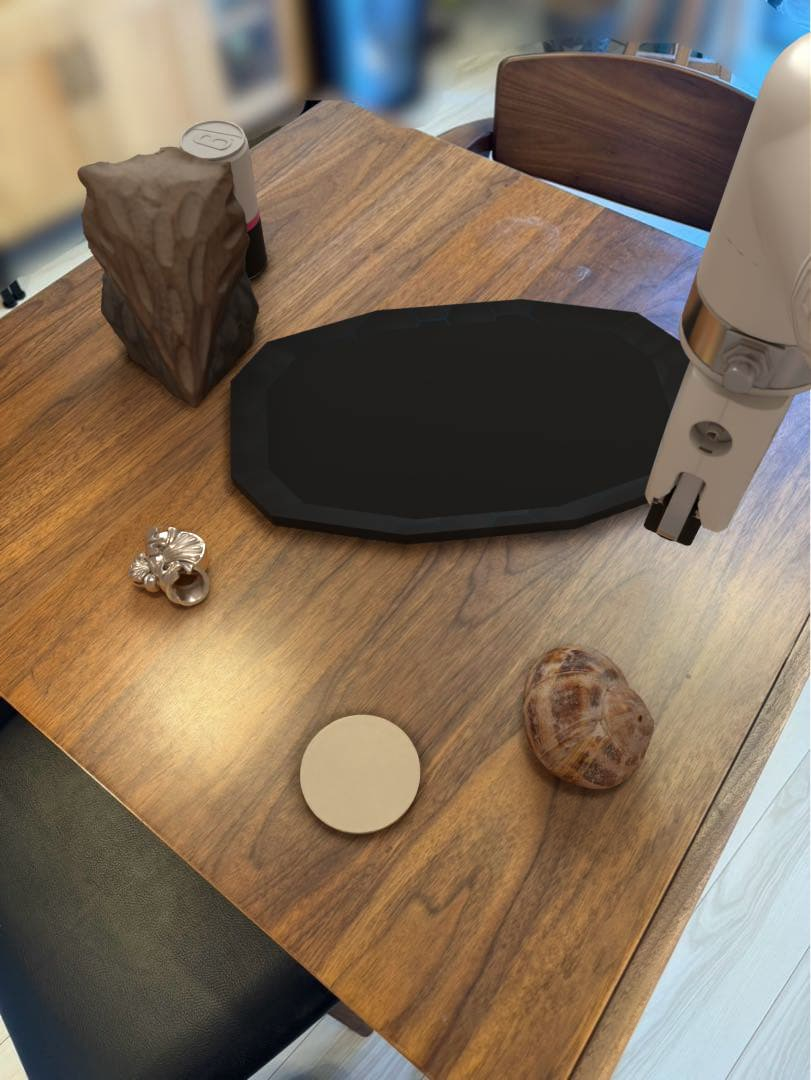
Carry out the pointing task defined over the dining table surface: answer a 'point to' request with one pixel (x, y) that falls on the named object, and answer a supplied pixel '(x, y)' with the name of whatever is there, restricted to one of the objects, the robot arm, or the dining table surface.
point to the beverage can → (232, 146)
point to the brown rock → (172, 265)
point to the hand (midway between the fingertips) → (670, 528)
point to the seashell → (585, 718)
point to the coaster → (360, 774)
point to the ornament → (172, 565)
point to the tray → (455, 420)
